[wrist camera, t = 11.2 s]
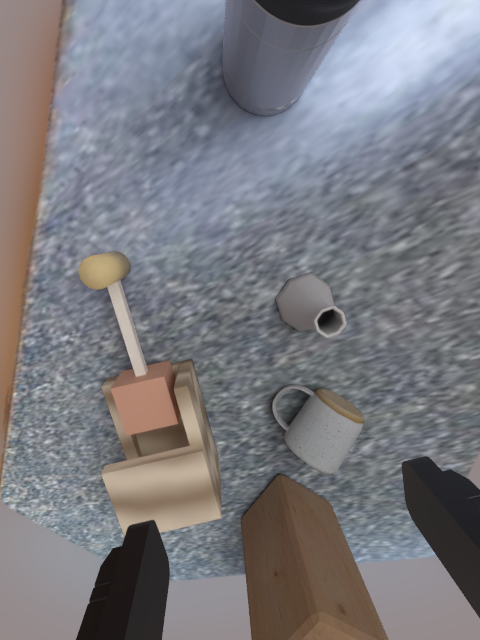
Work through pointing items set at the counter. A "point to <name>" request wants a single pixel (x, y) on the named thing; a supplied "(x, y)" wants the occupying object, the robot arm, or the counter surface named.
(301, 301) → the flask
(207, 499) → the shelf
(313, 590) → the wooden block
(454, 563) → the robot arm
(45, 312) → the counter surface
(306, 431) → the ceramic mug
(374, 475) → the counter surface
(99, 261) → the pull block
